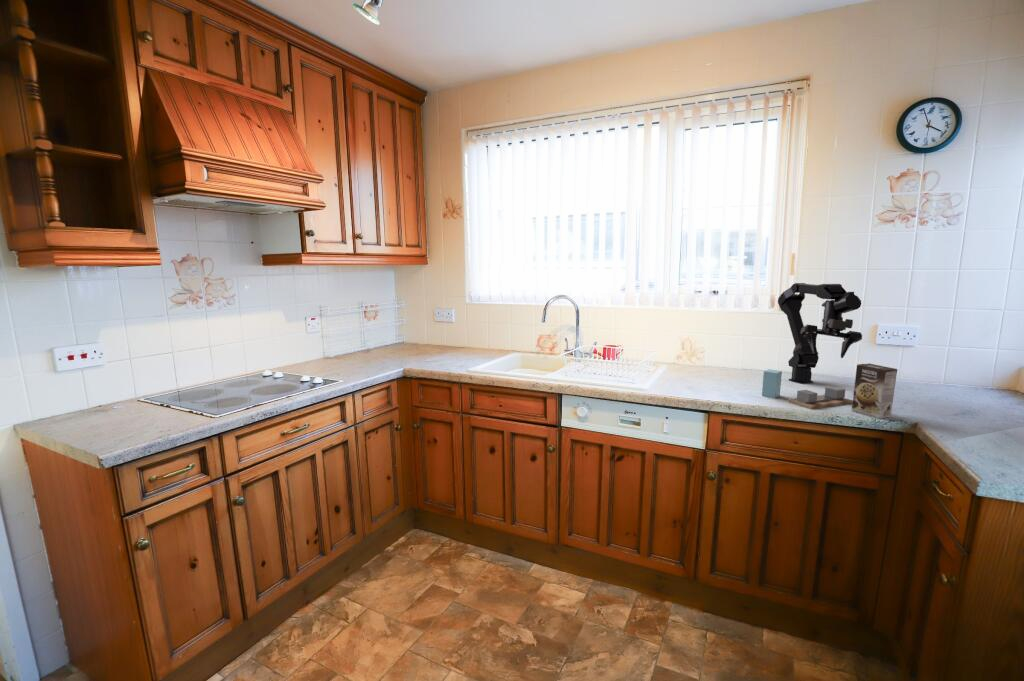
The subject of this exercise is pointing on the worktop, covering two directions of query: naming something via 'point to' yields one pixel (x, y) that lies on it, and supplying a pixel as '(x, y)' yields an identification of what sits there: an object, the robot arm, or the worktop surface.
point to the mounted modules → (812, 396)
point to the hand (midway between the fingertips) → (828, 355)
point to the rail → (821, 399)
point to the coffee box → (874, 390)
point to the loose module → (771, 383)
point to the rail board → (821, 403)
